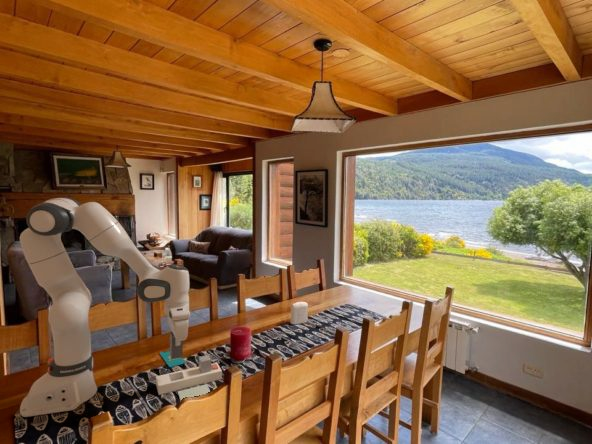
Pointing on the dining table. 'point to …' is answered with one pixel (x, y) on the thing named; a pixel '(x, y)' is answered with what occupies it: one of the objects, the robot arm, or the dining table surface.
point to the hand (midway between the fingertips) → (176, 341)
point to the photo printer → (299, 313)
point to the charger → (175, 348)
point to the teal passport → (169, 361)
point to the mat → (193, 391)
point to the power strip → (189, 376)
